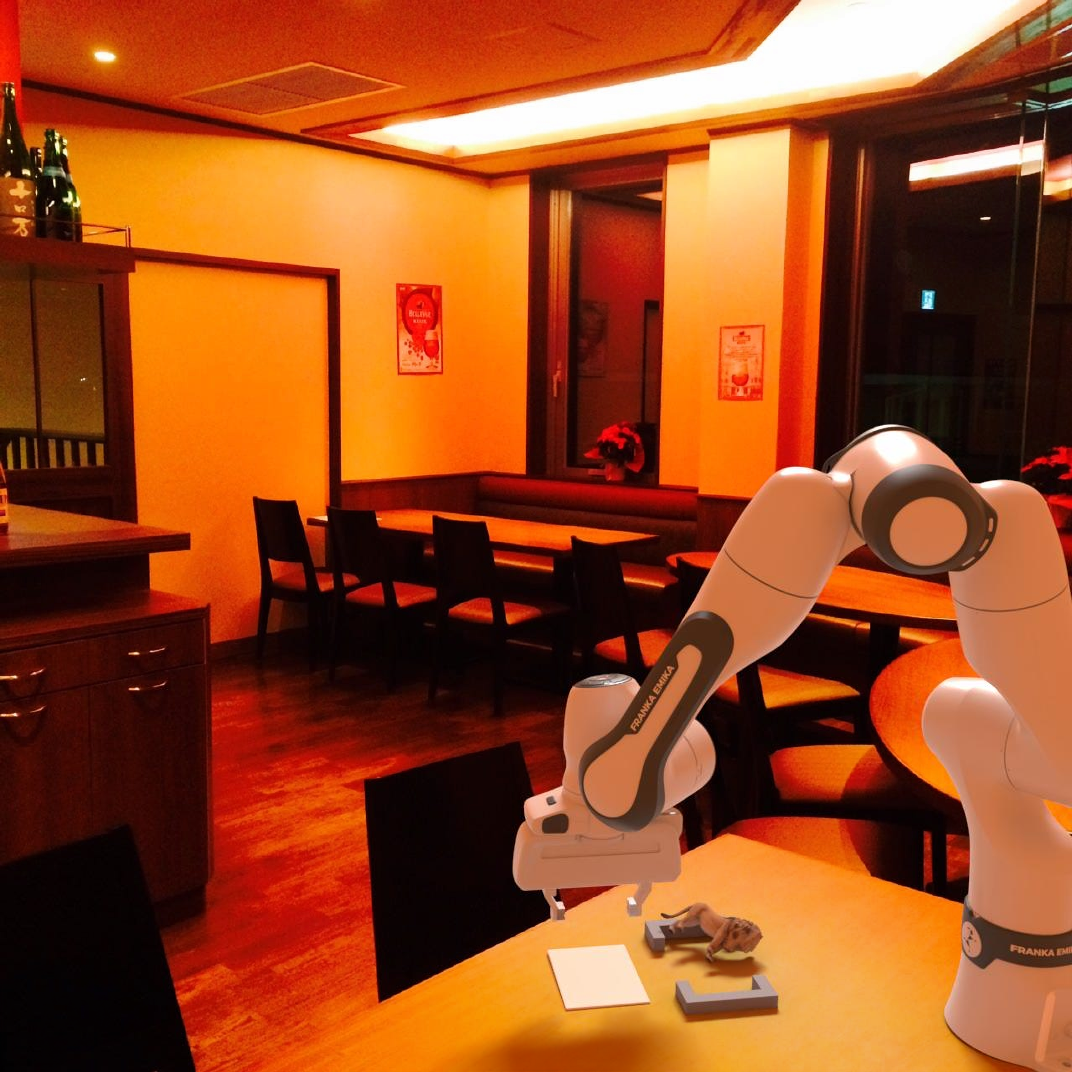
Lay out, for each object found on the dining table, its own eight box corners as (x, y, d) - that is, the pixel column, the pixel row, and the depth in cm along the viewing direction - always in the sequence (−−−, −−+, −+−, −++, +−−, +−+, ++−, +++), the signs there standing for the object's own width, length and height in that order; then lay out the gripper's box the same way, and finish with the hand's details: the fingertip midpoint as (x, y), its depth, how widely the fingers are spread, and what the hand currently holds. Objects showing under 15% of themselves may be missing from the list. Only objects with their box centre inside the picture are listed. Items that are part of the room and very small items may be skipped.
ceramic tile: (624, 948, 138) (624, 944, 138) (649, 1006, 125) (650, 1001, 125) (547, 954, 136) (547, 949, 136) (565, 1013, 124) (566, 1008, 124)
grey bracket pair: (724, 929, 143) (724, 915, 143) (777, 1011, 124) (778, 995, 124) (644, 935, 141) (644, 920, 141) (686, 1019, 123) (686, 1002, 122)
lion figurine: (730, 983, 133) (767, 943, 137) (730, 966, 131) (767, 925, 134) (659, 924, 141) (695, 887, 144) (656, 907, 138) (693, 869, 141)
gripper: (675, 793, 132) (671, 899, 134) (511, 801, 129) (509, 909, 131) (691, 814, 126) (686, 924, 128) (519, 822, 122) (517, 935, 124)
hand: (595, 917), depth 129 cm, fingers open, 8 cm apart
